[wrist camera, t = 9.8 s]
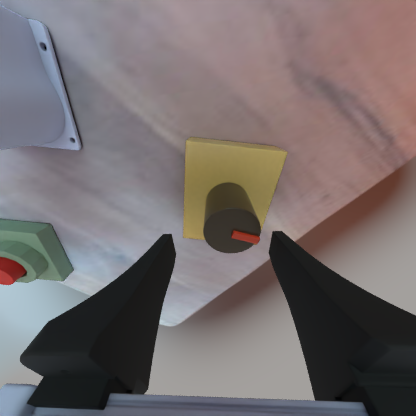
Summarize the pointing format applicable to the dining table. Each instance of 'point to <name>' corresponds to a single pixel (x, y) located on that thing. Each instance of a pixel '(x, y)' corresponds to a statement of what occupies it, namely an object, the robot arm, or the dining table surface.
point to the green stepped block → (34, 250)
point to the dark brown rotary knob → (230, 219)
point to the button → (10, 271)
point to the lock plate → (228, 176)
